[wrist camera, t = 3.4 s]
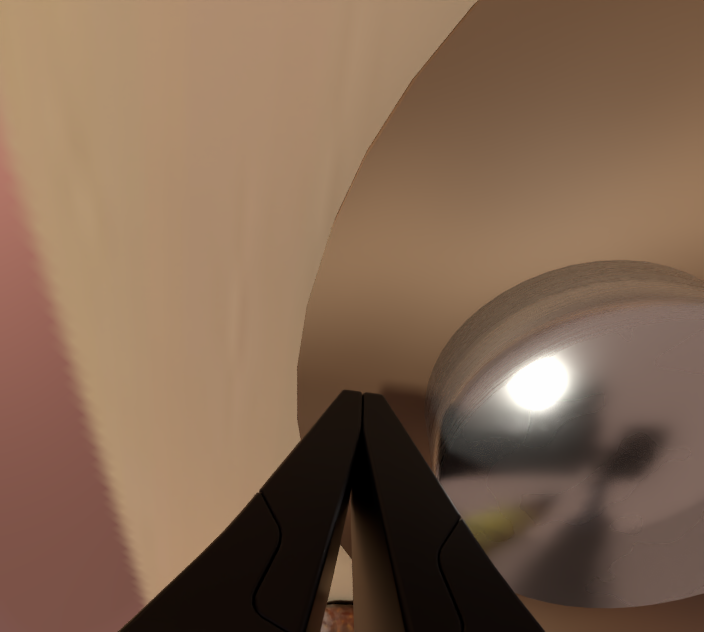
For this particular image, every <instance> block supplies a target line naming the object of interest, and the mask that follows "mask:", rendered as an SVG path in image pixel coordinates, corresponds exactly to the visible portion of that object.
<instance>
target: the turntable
mask: <svg viewBox="0 0 704 632" xmlns="http://www.w3.org/2000/svg"><path fill="white" fill-rule="evenodd" d="M606 260H632V261H646V262H651V263H656V264H661V265H666V266H670V267H672V268H675V269H678V270H681V271H684V272H686V273H689V274H691V275H693V276H695V277H697V278H698V279H700V280H702V281H704V0H478V1H477V2H476V3H475V4H474V5H473V6H472V7H471V8H470V10H469V11H468V12H467V13H466V15H465V16H464V17H463V18H462V20H461V21H460V22H459V23H458V24H457V26H456V27H455V28H454V29H453V31H452V32H451V33H450V34H449V35H448V37H447V38H446V39H445V40H444V42H443V43H442V44H441V45H440V46H439V48H438V49H437V50H436V51H435V53H434V54H433V55H432V56H431V57H430V59H429V60H428V61H427V62H426V64H425V65H424V66H423V67H422V68H421V70H420V71H419V72H418V73H417V75H416V76H415V77H414V78H413V79H412V81H411V82H410V84H409V86H408V87H407V89H406V90H405V92H404V93H403V95H402V97H401V98H400V100H399V101H398V103H397V104H396V106H395V108H394V109H393V111H392V112H391V114H390V115H389V117H388V119H387V120H386V122H385V123H384V125H383V126H382V128H381V130H380V131H379V133H378V134H377V136H376V137H375V139H374V141H373V142H372V144H371V145H370V147H369V148H368V150H367V152H366V154H365V156H364V158H363V160H362V163H361V165H360V167H359V169H358V171H357V173H356V175H355V177H354V179H353V182H352V184H351V186H350V188H349V190H348V192H347V194H346V196H345V199H344V201H343V203H342V205H341V207H340V209H339V211H338V213H337V216H336V218H335V221H334V224H333V226H332V229H331V232H330V235H329V238H328V241H327V244H326V247H325V251H324V254H323V257H322V260H321V263H320V266H319V270H318V273H317V276H316V279H315V282H314V285H313V289H312V292H311V295H310V298H309V301H308V304H307V309H306V315H305V322H304V328H303V334H302V341H301V347H300V353H299V359H298V366H297V420H298V426H299V432H300V438H301V439H302V438H303V437H304V436H305V435H306V433H307V432H308V431H309V430H310V429H311V427H312V426H313V425H314V424H315V423H316V421H317V420H318V419H319V418H320V417H321V415H322V414H323V413H324V412H325V411H326V409H327V408H328V407H329V406H330V405H331V403H332V402H333V401H334V400H335V399H336V397H337V396H338V395H339V394H340V392H341V391H342V390H344V389H347V390H354V391H360V392H362V394H364V393H365V392H369V393H377V394H382V395H383V396H384V397H385V398H386V400H387V401H388V403H389V405H390V406H391V408H392V409H393V411H394V412H395V414H396V415H397V417H398V419H399V420H400V422H401V423H402V425H403V426H404V428H405V429H406V431H407V433H408V434H409V436H410V437H411V439H412V440H413V442H414V443H415V445H416V447H417V448H418V450H419V451H420V453H421V454H422V456H423V457H424V459H425V461H426V462H427V464H428V465H429V467H430V468H431V470H432V471H433V469H432V462H431V456H430V449H429V442H428V435H427V428H426V421H425V396H426V390H427V384H428V381H429V378H430V375H431V372H432V369H433V367H434V365H435V363H436V361H437V359H438V357H439V355H440V353H441V352H442V350H443V349H444V347H445V346H446V344H447V343H448V341H449V340H450V339H451V337H452V336H453V335H454V334H455V332H456V331H457V330H458V329H459V328H460V327H461V326H462V325H463V324H464V323H465V321H466V320H467V319H469V318H470V317H471V316H472V315H473V314H474V313H476V312H477V311H478V310H479V309H480V308H481V307H482V306H484V305H485V304H487V303H488V302H490V301H491V300H493V299H494V298H495V297H497V296H498V295H500V294H501V293H503V292H505V291H507V290H508V289H510V288H512V287H514V286H516V285H518V284H520V283H522V282H523V281H526V280H528V279H531V278H533V277H536V276H538V275H541V274H543V273H546V272H549V271H552V270H556V269H559V268H563V267H567V266H570V265H575V264H581V263H587V262H593V261H606ZM340 545H341V546H342V547H343V548H344V550H345V551H346V552H347V554H348V555H349V556H350V558H351V559H352V541H351V495H350V501H349V506H348V512H347V516H346V520H345V525H344V529H343V534H342V538H341V543H340ZM515 594H516V595H517V596H518V597H519V599H520V600H521V601H522V603H523V604H524V605H525V606H526V608H527V609H528V610H529V611H530V613H531V614H532V615H533V616H534V618H535V619H536V620H537V621H538V623H539V624H540V625H541V627H542V628H543V629H544V630H545V632H704V593H703V594H699V595H696V596H692V597H688V598H684V599H680V600H675V601H670V602H665V603H660V604H654V605H646V606H638V607H625V608H584V607H572V606H564V605H558V604H552V603H547V602H543V601H539V600H535V599H531V598H527V597H525V596H522V595H519V594H517V593H515Z"/></svg>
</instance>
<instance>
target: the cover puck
mask: <svg viewBox="0 0 704 632" xmlns="http://www.w3.org/2000/svg"><path fill="white" fill-rule="evenodd" d="M425 421H426V428H427V435H428V442H429V449H430V456H431V462H432V469H433V473H434V475H435V476H436V478H437V479H438V481H439V482H440V484H441V485H442V487H443V489H444V490H445V492H446V493H447V495H448V496H449V498H450V499H451V501H452V503H453V504H454V506H455V507H456V509H457V510H458V512H459V513H460V515H461V519H463V520H464V521H465V522H466V524H467V526H468V527H469V529H470V530H471V532H472V533H473V535H474V537H475V538H476V539H477V541H478V542H479V544H480V545H481V547H482V548H483V550H484V551H485V553H486V554H487V556H488V557H489V559H490V560H491V561H492V563H493V564H494V566H495V567H496V568H497V570H498V571H499V572H500V574H501V575H502V576H503V578H504V579H505V580H506V582H507V583H508V584H509V586H510V587H511V588H512V590H513V591H514V592H515V593H517V594H519V595H522V596H525V597H527V598H531V599H535V600H539V601H543V602H547V603H552V604H558V605H564V606H572V607H584V608H625V607H638V606H646V605H654V604H660V603H665V602H670V601H675V600H680V599H684V598H688V597H692V596H696V595H699V594H703V593H704V281H702V280H700V279H698V278H697V277H695V276H693V275H691V274H689V273H686V272H684V271H681V270H678V269H675V268H672V267H670V266H666V265H661V264H656V263H651V262H646V261H632V260H606V261H593V262H587V263H581V264H575V265H570V266H567V267H563V268H559V269H556V270H552V271H549V272H546V273H543V274H541V275H538V276H536V277H533V278H531V279H528V280H526V281H523V282H522V283H520V284H518V285H516V286H514V287H512V288H510V289H508V290H507V291H505V292H503V293H501V294H500V295H498V296H497V297H495V298H494V299H493V300H491V301H490V302H488V303H487V304H485V305H484V306H482V307H481V308H480V309H479V310H478V311H477V312H476V313H474V314H473V315H472V316H471V317H470V318H469V319H467V320H466V321H465V323H464V324H463V325H462V326H461V327H460V328H459V329H458V330H457V331H456V332H455V334H454V335H453V336H452V337H451V339H450V340H449V341H448V343H447V344H446V346H445V347H444V349H443V350H442V352H441V353H440V355H439V357H438V359H437V361H436V363H435V365H434V367H433V369H432V372H431V375H430V378H429V381H428V384H427V390H426V396H425Z"/></svg>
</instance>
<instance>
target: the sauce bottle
mask: <svg viewBox="0 0 704 632" xmlns="http://www.w3.org/2000/svg"><path fill="white" fill-rule="evenodd" d="M321 632H354V610H353V605H338V604H331V605H326V609H325V614H324V618H323V623H322V627H321Z"/></svg>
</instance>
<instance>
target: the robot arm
mask: <svg viewBox="0 0 704 632" xmlns="http://www.w3.org/2000/svg"><path fill="white" fill-rule="evenodd" d="M350 495H351V541H352V575H353V610H354V632H545V630H544V629H543V628H542V627H541V625H540V624H539V623H538V621H537V620H536V619H535V618H534V616H533V615H532V614H531V613H530V611H529V610H528V609H527V608H526V606H525V605H524V604H523V603H522V601H521V600H520V599H519V597H518V596H517V595H516V594H515V592H514V591H513V590H512V588H511V587H510V586H509V584H508V583H507V582H506V580H505V579H504V578H503V576H502V575H501V574H500V572H499V571H498V570H497V568H496V567H495V566H494V564H493V563H492V561H491V560H490V559H489V557H488V556H487V554H486V553H485V551H484V550H483V548H482V547H481V545H480V544H479V542H478V541H477V539H476V538H475V537H474V535H473V533H472V532H471V530H470V529H469V527H468V526H467V524H466V522H465V521H464V520H463V519H461V515H460V513H459V512H458V510H457V509H456V507H455V506H454V504H453V503H452V501H451V499H450V498H449V496H448V495H447V493H446V492H445V490H444V489H443V487H442V485H441V484H440V482H439V481H438V479H437V478H436V476H435V475H434V473H433V471H432V470H431V468H430V467H429V465H428V464H427V462H426V461H425V459H424V457H423V456H422V454H421V453H420V451H419V450H418V448H417V447H416V445H415V443H414V442H413V440H412V439H411V437H410V436H409V434H408V433H407V431H406V429H405V428H404V426H403V425H402V423H401V422H400V420H399V419H398V417H397V415H396V414H395V412H394V411H393V409H392V408H391V406H390V405H389V403H388V401H387V400H386V398H385V397H384V396H383V395H382V394H377V393H369V392H365V393H364V394H362V392H360V391H354V390H347V389H344V390H342V391H341V392H340V394H339V395H338V396H337V397H336V399H335V400H334V401H333V402H332V403H331V405H330V406H329V407H328V408H327V409H326V411H325V412H324V413H323V414H322V415H321V417H320V418H319V419H318V420H317V421H316V423H315V424H314V425H313V426H312V427H311V429H310V430H309V431H308V432H307V433H306V435H305V436H304V437H303V438H302V439H301V441H300V442H299V443H298V444H297V445H296V447H295V448H294V449H293V450H292V451H291V453H290V454H289V455H288V456H287V457H286V459H285V460H284V461H283V462H282V463H281V465H280V466H279V467H278V468H277V470H276V471H275V472H274V473H273V474H272V476H271V477H270V478H269V479H268V480H267V482H266V483H265V484H264V485H263V486H262V488H261V489H260V490H259V493H256V494H255V496H254V497H253V498H252V499H251V501H250V502H249V503H248V504H247V505H246V507H245V508H244V509H243V510H242V511H241V512H240V513H239V515H238V516H237V517H236V518H235V519H234V520H233V521H232V522H231V523H230V525H229V526H228V527H227V528H226V529H225V530H224V531H223V532H222V533H221V534H220V535H219V536H218V537H217V538H216V539H215V540H214V541H213V542H212V543H211V544H210V545H209V546H208V547H207V548H206V549H205V550H204V551H203V552H202V553H201V554H200V555H199V556H198V557H197V558H196V559H195V560H194V561H193V562H192V563H191V564H190V565H188V566H187V567H186V568H185V569H184V570H183V571H182V572H181V573H180V574H179V575H178V576H177V577H176V578H175V579H174V580H173V581H172V582H170V583H169V584H168V585H167V586H166V587H165V588H164V589H163V590H162V591H161V592H160V593H159V594H158V595H157V596H156V597H155V598H154V599H152V600H151V601H150V602H149V603H148V604H147V605H146V606H145V607H144V608H143V609H142V610H141V611H140V612H139V613H138V614H137V615H136V616H135V617H133V618H132V619H131V620H130V621H129V622H128V623H127V624H126V625H125V626H124V627H123V628H121V629H120V630H119V631H118V632H321V627H322V623H323V618H324V614H325V609H326V605H327V601H328V596H329V592H330V587H331V583H332V578H333V574H334V569H335V565H336V561H337V556H338V552H339V547H340V543H341V538H342V534H343V529H344V525H345V520H346V516H347V512H348V506H349V501H350Z"/></svg>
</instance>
